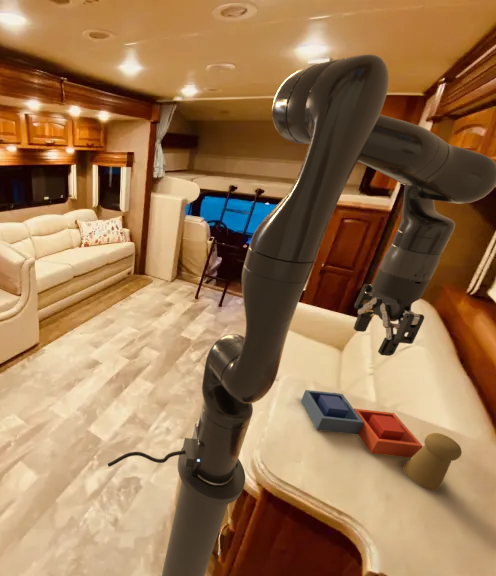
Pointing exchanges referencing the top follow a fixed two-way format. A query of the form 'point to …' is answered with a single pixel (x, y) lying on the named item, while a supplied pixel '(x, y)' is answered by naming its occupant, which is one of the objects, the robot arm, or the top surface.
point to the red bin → (382, 446)
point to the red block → (386, 427)
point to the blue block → (332, 406)
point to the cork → (432, 461)
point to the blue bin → (333, 424)
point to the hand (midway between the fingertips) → (371, 341)
